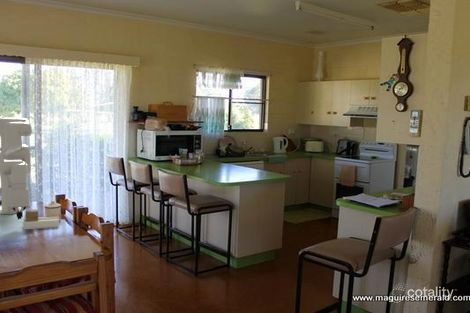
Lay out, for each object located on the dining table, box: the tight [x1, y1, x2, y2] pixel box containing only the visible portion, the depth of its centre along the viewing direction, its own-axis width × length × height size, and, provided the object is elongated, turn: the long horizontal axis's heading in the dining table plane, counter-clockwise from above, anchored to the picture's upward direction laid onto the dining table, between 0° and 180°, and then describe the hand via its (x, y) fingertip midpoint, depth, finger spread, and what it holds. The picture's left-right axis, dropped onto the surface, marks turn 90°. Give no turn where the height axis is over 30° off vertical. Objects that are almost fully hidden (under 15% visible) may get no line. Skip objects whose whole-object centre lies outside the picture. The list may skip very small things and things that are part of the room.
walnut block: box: [25, 208, 39, 222], centre depth 234 cm, size 5×6×8 cm
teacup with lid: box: [44, 200, 62, 222], centre depth 250 cm, size 12×9×12 cm
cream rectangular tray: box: [22, 216, 60, 230], centre depth 236 cm, size 8×18×4 cm, turn 114°
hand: (19, 218), depth 232 cm, fingers closed
